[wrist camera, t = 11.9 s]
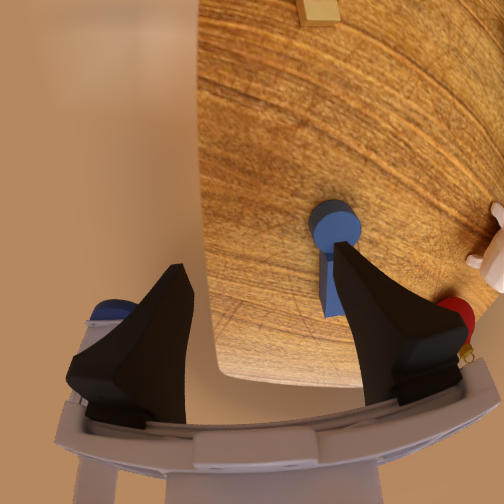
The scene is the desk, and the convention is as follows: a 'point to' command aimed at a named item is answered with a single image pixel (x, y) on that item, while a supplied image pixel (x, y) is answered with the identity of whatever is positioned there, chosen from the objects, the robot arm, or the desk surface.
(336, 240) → the blue long-handled part
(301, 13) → the block
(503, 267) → the white animal figurine
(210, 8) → the desk surface
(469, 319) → the christmas ornament
